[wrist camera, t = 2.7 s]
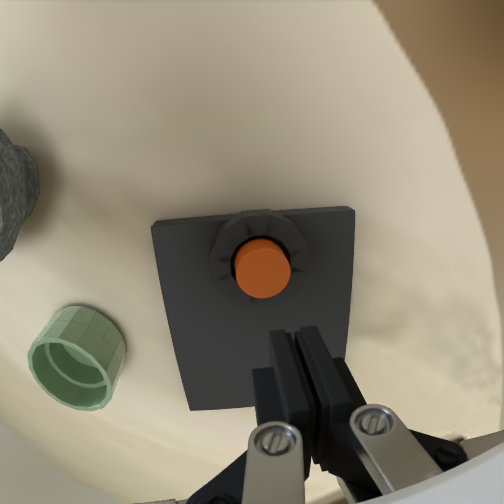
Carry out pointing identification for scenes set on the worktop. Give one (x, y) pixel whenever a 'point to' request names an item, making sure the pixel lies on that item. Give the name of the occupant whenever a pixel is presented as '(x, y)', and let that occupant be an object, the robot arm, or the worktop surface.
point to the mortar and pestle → (15, 191)
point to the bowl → (78, 358)
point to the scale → (243, 305)
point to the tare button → (261, 268)
